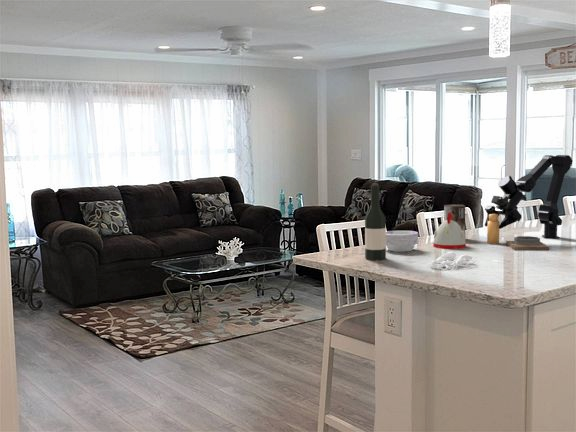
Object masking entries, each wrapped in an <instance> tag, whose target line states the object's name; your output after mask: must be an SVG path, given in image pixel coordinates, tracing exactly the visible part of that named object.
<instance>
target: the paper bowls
mask: <svg viewBox="0 0 576 432" xmlns="http://www.w3.org/2000/svg"><path fill="white" fill-rule="evenodd" d="M415 245H419V232H418V231H414V230H388V231H386V247H387V249H388V251H390V252H395V253H407V252H411V251H412V250H414V248H415Z"/></svg>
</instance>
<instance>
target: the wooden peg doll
mask: <svg viewBox="0 0 576 432" xmlns="http://www.w3.org/2000/svg"><path fill="white" fill-rule="evenodd" d="M500 224H501V221H500V220H499V216H498V214H489V221H488V222H487V230H486V231H487V232H486V233H487V234H486V237H487V238H486V243H487V244H489V245H499V244H500V229H499V225H500Z"/></svg>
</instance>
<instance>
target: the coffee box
mask: <svg viewBox="0 0 576 432" xmlns="http://www.w3.org/2000/svg"><path fill="white" fill-rule="evenodd" d="M443 207H444V208H443V209H444V211H443V213H444V214H443V216H444V217H443V218H444V219H443V222H444V221H446V220H447V217H448V213H451V215H452V220H453V221H455V222H456V223H457V224H458V225H459V226H460V227H461V229H462V231H464V234H465V235H466V206H465V204H443Z"/></svg>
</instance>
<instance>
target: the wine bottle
mask: <svg viewBox="0 0 576 432" xmlns="http://www.w3.org/2000/svg"><path fill="white" fill-rule="evenodd" d="M386 220H387V218H386V216H385V214H384V212H383V211H382V209H381V206H380V185H379V183H371V185H370V207H369V210H368V211H367V213H366V215H365V217H364V249H365V250H364V253H365V254H364V255H365V256H364V259H366V260H368V261H383V259H384V260H386V259H387V258H386V257H387V256H386V255H387V254H386V253H387V251H386V250H387V249H386V247H387V246H386V232H387V231H386V230H387V229H386V228H387V227H386V226H387V225H386V224H387V223H386V222H387V221H386Z"/></svg>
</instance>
